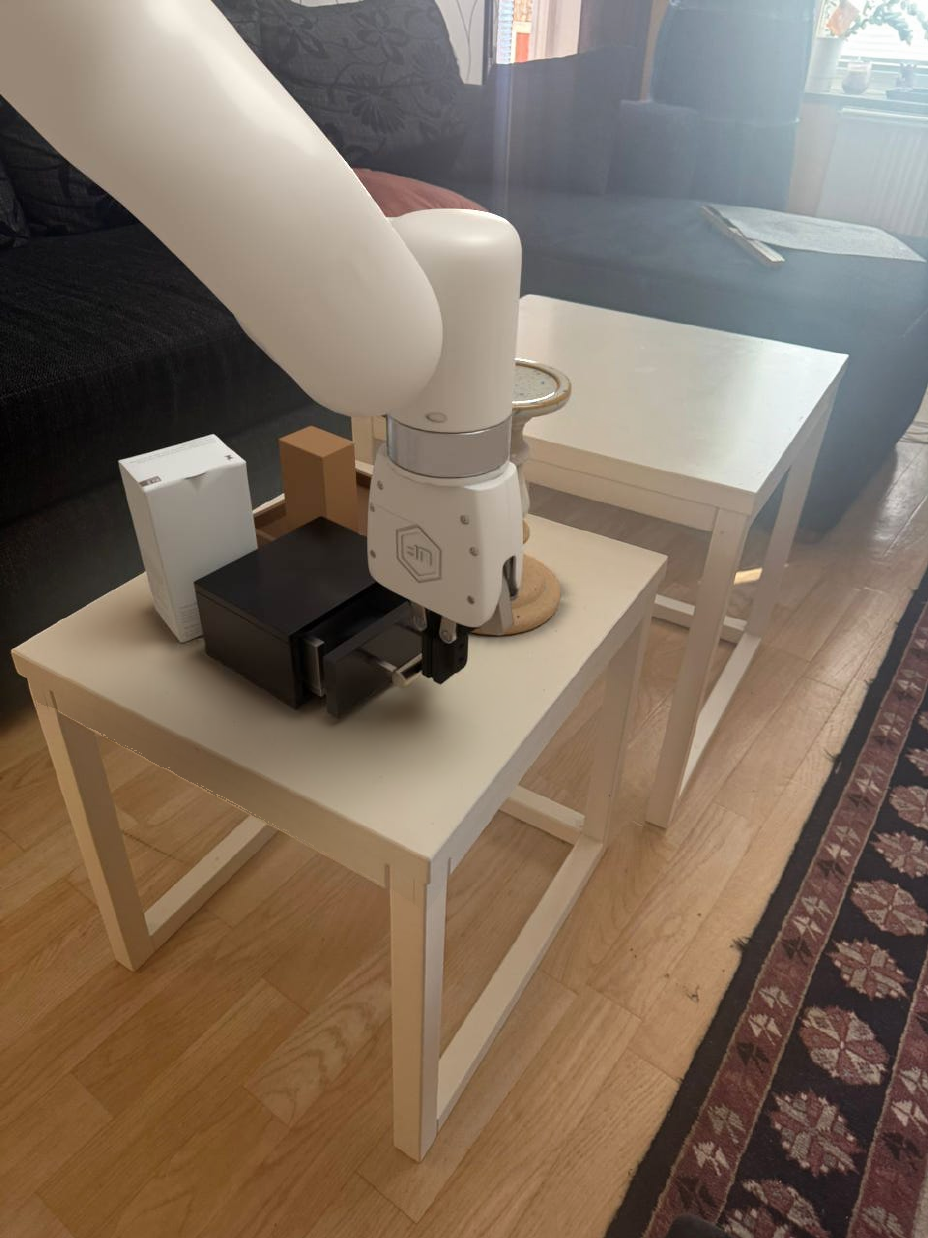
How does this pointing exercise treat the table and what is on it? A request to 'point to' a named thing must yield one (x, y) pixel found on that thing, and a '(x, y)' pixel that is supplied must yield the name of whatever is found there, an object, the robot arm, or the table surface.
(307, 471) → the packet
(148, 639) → the table surface
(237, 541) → the cosmetic box
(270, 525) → the tray
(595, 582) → the table surface
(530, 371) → the candle holder
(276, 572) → the black drawer housing
